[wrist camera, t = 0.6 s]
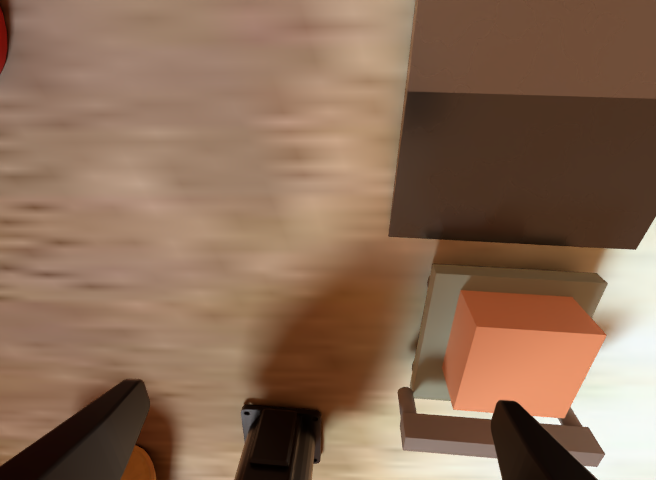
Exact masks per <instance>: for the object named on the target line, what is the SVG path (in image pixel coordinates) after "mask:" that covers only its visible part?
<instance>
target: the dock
mask: <svg viewBox="0 0 656 480" xmlns="http://www.w3.org/2000/svg"><path fill="white" fill-rule="evenodd" d="M655 217H656V0H416V1H415V10H414V19H413V27H412V36H411V45H410V54H409V62H408V71H407V80H406V88H405V96H404V105H403V114H402V123H401V131H400V140H399V149H398V158H397V166H396V175H395V184H394V193H393V202H392V210H391V219H390V228H389V237H407V238H426V239H445V240H464V241H483V242H502V243H521V244H540V245H559V246H578V247H597V248H616V249H635V250H636V248H637V247H638V245H639V243H640V242H641V240H642V238H643V237H644V235H645V233H646V232H647V230H648V228H649V227H650V225H651V223H652V222H653V220H654V218H655Z"/></svg>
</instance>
